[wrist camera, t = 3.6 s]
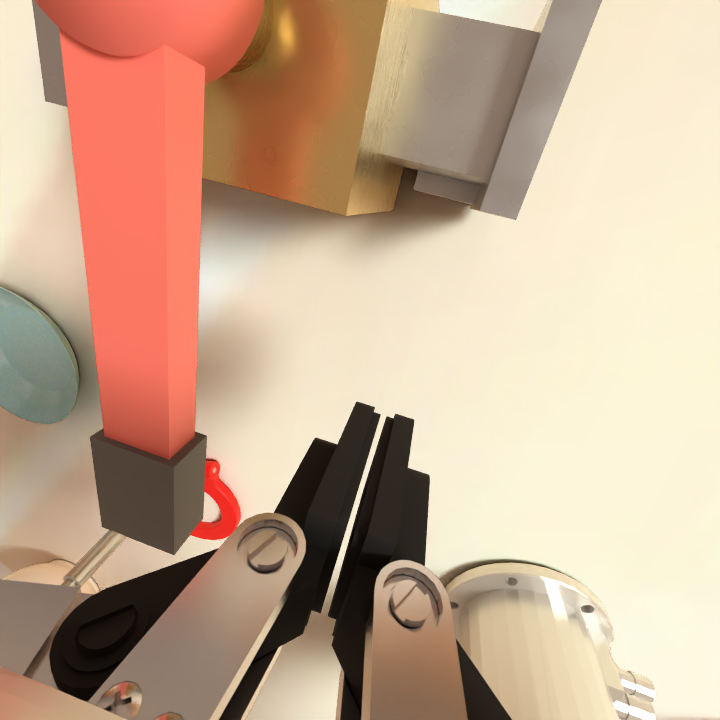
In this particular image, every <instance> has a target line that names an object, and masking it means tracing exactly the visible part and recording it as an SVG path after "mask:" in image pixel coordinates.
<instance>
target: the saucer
mask: <svg viewBox="0 0 720 720" xmlns="http://www.w3.org/2000/svg"><path fill="white" fill-rule="evenodd" d="M78 389H79V372H78V366H77V362H76V358H75V355H74V352H73V350H72V348H71V346H70V344H69V342H68V340H67V338H66V337H65V335H64V334H63V332H62V331H61V330H60V328H59V327H58V326H57V325H56V324H55V323H54V322H53V321H52V320H51V319H50V318H49V317H48V316H47V315H46V314H45V313H44V312H43V311H41V310H40V309H39V308H38V307H36V306H35V305H34V304H32V303H31V302H29V301H28V300H26V299H24V298H23V297H21V296H19V295H17V294H15V293H13V292H11V291H9V290H7V289H5V288H3V287H0V406H1V407H2V408H4V409H5V410H7V411H8V412H10V413H12V414H14V415H16V416H18V417H20V418H22V419H25V420H27V421H31V422H35V423H41V424H51V423H55V422H58V421H61V420H63V419H64V418H66V417H67V416H68V415H69V414H70V412H71V411H72V410H73V408H74V406H75V403H76V400H77V395H78Z"/></svg>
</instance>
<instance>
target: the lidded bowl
mask: <svg viewBox="0 0 720 720" xmlns="http://www.w3.org/2000/svg"><path fill="white" fill-rule="evenodd" d="M74 566H75V564H73V563H70V562H68V561H64V560H53V561H51V562H50V563H43V564H37V565H32V566H28V567H25V568H22V569H19V570H17V571H15V572H13V573H10V574H8V575H7V576H5V577H3V578H2V580H12V581H22V582H32V583H42V584H52V585H61V584H62V583H63V582H64V580H63V577H64V576H65V575H66V574H67V573H68V572H69V571H70V570H71V569H72V568H73V567H74ZM80 589H81V593H87V594H96V593H98V592H100V590H99V587H98V585H97V584H96V582H95V581H94V579H93V578H92V577H90V578H89V579H88V580H87V581H86V582H85V583H84V584H83V585H82V587H81V588H80Z"/></svg>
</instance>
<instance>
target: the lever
mask: <svg viewBox="0 0 720 720" xmlns="http://www.w3.org/2000/svg"><path fill="white" fill-rule="evenodd" d="M35 1H36V3H37V4H38V5H39V7H40V8H41V9H42V10H43V11H44V12H45V13H46V15H47V16H48V17H49V18H50V19H51V20H52V21H53V22H54V23H55V24H56V25H57V26H59V33H60V42H61V51H62V60H63V69H64V78H65V87H66V96H67V105H68V114H69V123H70V132H71V141H72V149H73V158H74V167H75V176H76V185H77V194H78V203H79V212H80V221H81V230H82V239H83V248H84V257H85V266H86V275H87V284H88V293H89V302H90V311H91V320H92V329H93V338H94V347H95V356H96V365H97V373H98V382H99V391H100V400H101V409H102V418H103V427H104V428H103V429H102V430H100V431H99V432H97V433H96V434H94V435H92V436H91V437H90V441H91V448H92V455H93V463H94V470H95V478H96V485H97V493H98V500H99V508H100V515H101V523H102V527H104V528H106V529H109V530H111V531H114V532H116V533H119V534H121V535H124V536H127V537H129V538H132V539H134V540H137V541H139V542H142V543H144V544H147V545H149V546H152V547H155V548H157V549H160V550H162V551H165V552H167V553H170V554H172V555H175V553H176V552H177V551H178V550H179V548H180V547H181V546H182V545H183V543H184V542H185V541H186V539H187V538H188V537H189V536H190V534H191V533H192V532H193V530H194V529H195V528H196V527H197V525H198V524H199V523H200V521H201V520H202V519H203V507H204V486H205V464H206V442H207V436H206V435H203V434H200V433H197V432H195V412H196V376H197V340H198V304H199V268H200V232H201V196H202V160H203V124H204V88H205V84H206V83H209V82H211V81H214V80H216V79H218V78H220V77H221V76H223V75H224V74H226V73H227V72H228V71H229V70H230V69H232V68H233V67H234V66H235V65H236V64H237V62H238V61H239V60H240V59H241V58H242V56H243V55H244V53H245V52H246V50H247V49H248V47H249V45H250V44H251V41H252V39H253V37H254V35H255V33H256V30H257V27H258V24H259V21H260V19H261V15H262V10H263V6H264V2H265V0H35Z"/></svg>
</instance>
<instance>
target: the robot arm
mask: <svg viewBox="0 0 720 720" xmlns="http://www.w3.org/2000/svg"><path fill="white" fill-rule="evenodd" d="M374 409H375V407H372V406H369V405H366V404H363V403H360V402H356V404H355V406H354V408H353V411H352V413H351V415H350V417H349V420H348V422H347V424H346V426H345V429H344V431H343V433H342V436H341V438H340V440H339V442H338V445H337V444H334V443H331V442H328V441H325V440H322V439H319V438H315V439H314V441H313V442H312V444H311V446H310V448H309V449H308V451H307V453H306V455H305V457H304V459H303V460H302V462H301V464H300V466H299V468H298V470H297V471H296V473H295V475H294V477H293V479H292V480H291V482H290V484H289V486H288V488H287V490H286V491H285V493H284V495H283V497H282V499H281V501H280V502H279V504H278V506H277V508H276V510H275V512H274V513H263V514H258V515H255V516H253V517H251V518H249V519H246V520H245V521H244V522H243V523H241V524H240V525H239V526H238V527H237V528H236V529H235V530H234V531H233V533H232V534H231V535H230V536H229V537H228V538H227V540H226V541H225V542H224V543H223V544H222V545H221V547H220V548H218V549H215V550H213V551H210V552H207V553H204V554H201V555H199V556H196V557H193V558H190V559H187V560H185V561H182V562H179V563H176V564H173V565H171V566H168V567H165V568H162V569H159V570H157V571H154V572H151V573H148V574H145V575H143V576H140V577H137V578H134V579H132V580H129V581H126V582H123V583H120V584H118V585H115V586H112V587H109V588H107V589H104V590H102V591H100V592H98V593H96V594H87V593H81V589H80V587H71V586H61V585H52V584H42V583H32V582H22V581H12V580H2V579H0V720H245V719H246V717H247V716H248V714H249V712H250V710H251V708H252V706H253V704H254V702H255V700H256V698H257V696H258V694H259V692H260V690H261V688H262V686H263V684H264V683H265V681H266V679H267V677H268V675H269V673H270V671H271V669H272V667H273V665H274V663H275V661H276V659H277V657H278V655H279V653H280V651H281V649H282V646H283V644H285V643H287V642H289V641H291V640H293V639H294V638H296V637H298V636H300V635H302V634H303V632H304V629H305V626H307V623H308V620H309V616H310V613H311V610H313V611H316V612H318V613H321V610H322V606H323V603H324V600H325V597H326V593H327V590H328V587H329V583H330V580H331V577H332V574H333V570H334V567H335V564H336V560H337V557H338V554H339V551H340V547H341V544H342V541H343V537H344V534H345V531H346V528H347V524H348V521H349V518H350V514H351V511H352V508H353V504H354V501H355V498H356V495H357V491H358V488H359V485H360V481H361V478H362V475H363V471H364V468H365V465H366V461H367V458H368V455H369V452H370V448H371V445H372V442H373V438H374V435H375V432H376V428H377V425H378V422H379V418H380V415H381V414H377V413H374ZM413 426H414V419H410V418H407V417H404V416H401V415H398V414H395V416H394V419H393V418H390V417H386V420H385V423H384V426H383V429H382V433H381V436H380V439H379V442H378V445H377V449H376V452H375V455H374V458H373V461H372V464H371V468H370V471H369V474H368V477H367V480H366V484H365V487H364V490H363V493H362V497H361V500H360V504H359V507H358V511H357V514H356V518H355V522H354V525H353V529H352V532H351V536H350V539H349V543H348V546H347V550H346V553H345V557H344V560H343V564H342V567H341V571H340V574H339V578H338V582H337V585H336V589H335V592H334V596H333V599H332V603H331V606H330V610H329V613H328V616H329V617H331V618H334V619H336V623H335V627H334V631H333V634H332V636H334V638H333V642H332V647H333V649H334V651H335V653H336V656H337V658H338V660H339V662H340V665H341V667H342V668H341V672H340V679H339V689H338V699H337V709H336V720H619V719H621V720H655V714H654V710H653V706H652V705H651V703H650V702H653V700H654V698H655V690H654V686H653V684H652V682H651V681H650V680H649V679H648V678H646V677H644V676H641V675H639V674H636V673H633V672H631V671H625V670H622V669H620V668H619V667H618V666H617V664H616V663H615V662H614V661H613V658H612V655H611V653H610V650H611V647H612V643H613V639H614V638H613V628H612V625H611V623H610V620H609V617H608V614H607V612H606V610H605V608H604V607H603V605H602V603H601V601H600V600H599V599H598V598H597V597H596V596H595V595H594V594H593V593H592V592H591V591H590V590H589V589H588V588H586V587H585V586H584V585H582V584H581V583H579V582H578V581H576V580H574V579H572V578H570V577H568V576H567V575H565V574H562V573H560V572H557V571H554V570H551V569H548V568H545V567H541V566H536V565H531V564H523V563H494V564H488V565H483V566H479V567H476V568H473V569H470V570H467V571H466V572H464V573H462V574H460V575H459V576H457V577H455V578H454V579H453V580H452V581H451V582H450V583H449V584H448V585H447V586H446V588H444V586H443V585H442V583H441V581H440V580H439V579H438V578H437V577H436V576H435V575H434V573H433V572H432V571H430V570H429V569H427V568H426V567H425V552H426V535H427V518H428V501H429V484H430V477H429V475H428V474H425V473H422V472H419V471H416V470H413V469H410V468H408V461H409V454H410V447H411V440H412V433H413Z"/></svg>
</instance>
